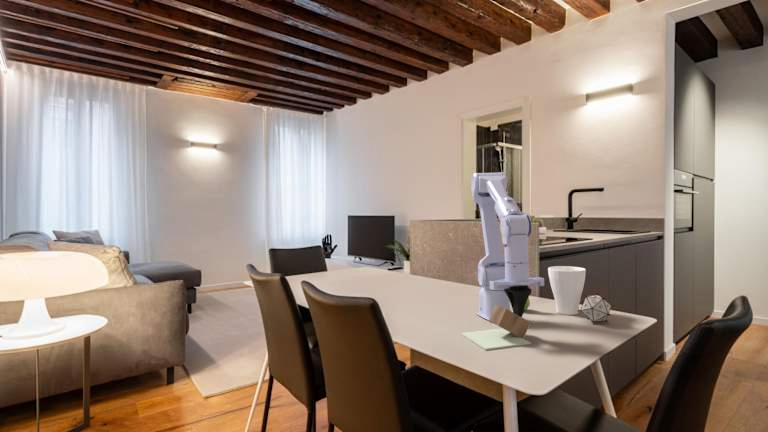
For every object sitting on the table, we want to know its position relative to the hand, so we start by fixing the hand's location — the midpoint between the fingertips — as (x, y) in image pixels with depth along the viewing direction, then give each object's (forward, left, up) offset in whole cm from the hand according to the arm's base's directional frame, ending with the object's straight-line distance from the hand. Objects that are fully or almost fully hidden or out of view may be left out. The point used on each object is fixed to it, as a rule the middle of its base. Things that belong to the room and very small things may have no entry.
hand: (518, 316), depth 97 cm
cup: (-14, +27, -5) cm, 31 cm away
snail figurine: (-21, +16, -5) cm, 27 cm away
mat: (0, -7, -5) cm, 8 cm away
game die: (-3, +27, -5) cm, 28 cm away
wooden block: (0, +1, -3) cm, 3 cm away
